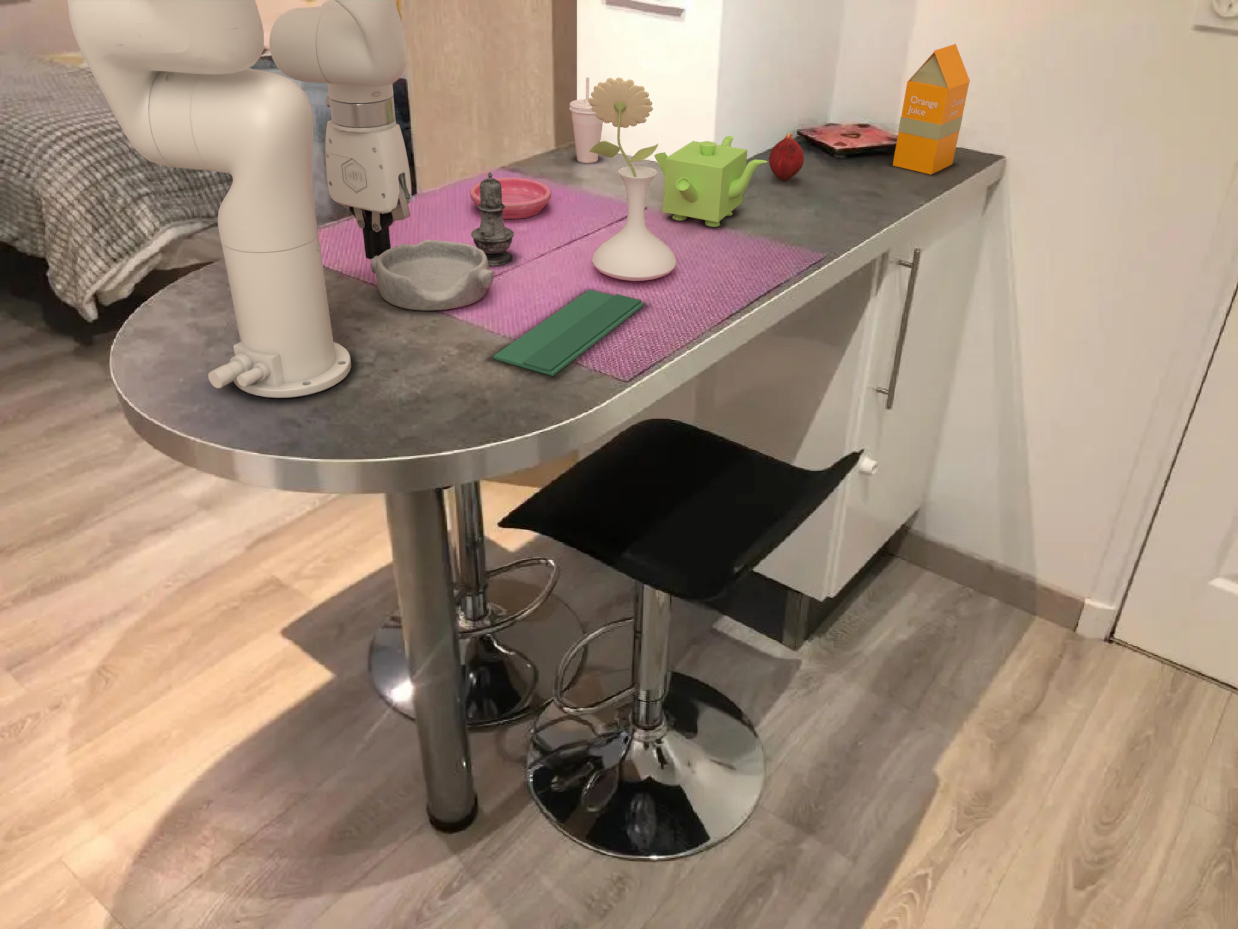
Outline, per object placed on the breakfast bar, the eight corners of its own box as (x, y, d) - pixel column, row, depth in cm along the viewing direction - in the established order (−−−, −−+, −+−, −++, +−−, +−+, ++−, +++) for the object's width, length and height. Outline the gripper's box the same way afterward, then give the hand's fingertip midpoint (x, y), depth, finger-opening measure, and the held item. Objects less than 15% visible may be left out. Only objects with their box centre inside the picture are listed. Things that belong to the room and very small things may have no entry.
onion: (803, 187, 171) (809, 138, 167) (768, 185, 171) (774, 137, 167) (798, 176, 176) (804, 129, 172) (765, 175, 176) (770, 128, 171)
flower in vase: (689, 266, 140) (702, 77, 127) (652, 295, 132) (662, 96, 118) (606, 248, 145) (610, 64, 132) (565, 274, 137) (565, 81, 123)
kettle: (726, 196, 166) (732, 126, 160) (767, 226, 155) (776, 152, 149) (641, 205, 161) (644, 133, 155) (677, 236, 150) (682, 160, 144)
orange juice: (891, 165, 183) (912, 47, 172) (914, 155, 189) (935, 40, 178) (932, 174, 179) (955, 54, 168) (953, 164, 184) (978, 46, 173)
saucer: (561, 200, 162) (561, 181, 160) (536, 227, 152) (536, 206, 150) (487, 192, 164) (486, 173, 162) (458, 218, 154) (457, 197, 152)
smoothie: (566, 163, 178) (565, 80, 171) (573, 153, 184) (573, 71, 176) (601, 166, 178) (603, 82, 170) (608, 155, 183) (610, 74, 175)
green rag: (553, 376, 113) (553, 370, 112) (493, 358, 116) (493, 353, 116) (643, 305, 129) (644, 300, 129) (589, 292, 132) (589, 287, 132)
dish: (508, 301, 129) (506, 264, 126) (407, 325, 122) (403, 287, 120) (456, 263, 139) (453, 228, 136) (359, 284, 132) (355, 247, 130)
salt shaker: (507, 268, 138) (504, 180, 132) (466, 263, 139) (461, 176, 132) (519, 252, 143) (517, 167, 136) (479, 248, 144) (475, 163, 137)
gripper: (293, 109, 122) (314, 254, 132) (393, 128, 116) (407, 278, 127) (335, 96, 128) (352, 236, 138) (432, 114, 122) (443, 258, 132)
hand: (378, 256), depth 132 cm, fingers closed
